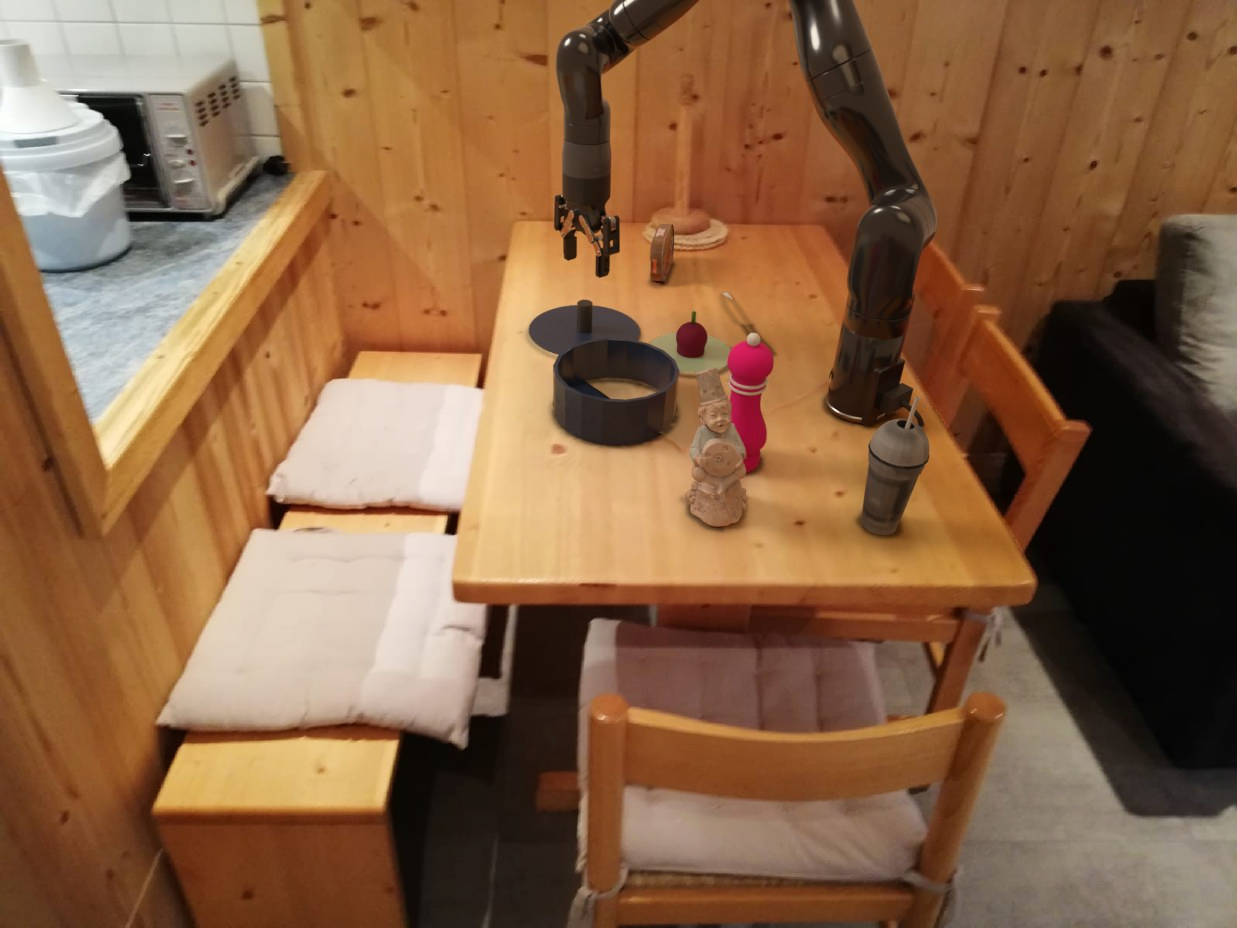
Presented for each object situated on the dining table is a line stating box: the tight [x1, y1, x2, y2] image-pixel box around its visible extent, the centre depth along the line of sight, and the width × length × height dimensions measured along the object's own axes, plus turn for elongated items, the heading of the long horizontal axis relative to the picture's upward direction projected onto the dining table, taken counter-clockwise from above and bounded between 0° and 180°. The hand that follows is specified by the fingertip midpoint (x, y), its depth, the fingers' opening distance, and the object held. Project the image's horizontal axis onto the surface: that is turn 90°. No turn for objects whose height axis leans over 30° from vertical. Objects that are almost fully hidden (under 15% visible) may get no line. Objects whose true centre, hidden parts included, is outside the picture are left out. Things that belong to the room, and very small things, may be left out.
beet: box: [676, 310, 708, 358], centre depth 149 cm, size 5×5×7 cm
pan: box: [552, 338, 680, 447], centre depth 135 cm, size 18×18×8 cm
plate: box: [650, 331, 732, 374], centre depth 151 cm, size 14×14×1 cm
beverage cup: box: [861, 395, 930, 536], centre depth 112 cm, size 7×7×20 cm
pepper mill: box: [726, 332, 775, 473], centre depth 122 cm, size 7×7×20 cm
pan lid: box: [528, 299, 641, 356], centre depth 154 cm, size 19×19×6 cm
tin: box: [649, 223, 675, 283], centre depth 176 cm, size 15×3×8 cm, turn 168°
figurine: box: [684, 367, 749, 527], centre depth 113 cm, size 9×8×20 cm
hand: (585, 267), depth 149 cm, fingers open, 8 cm apart
